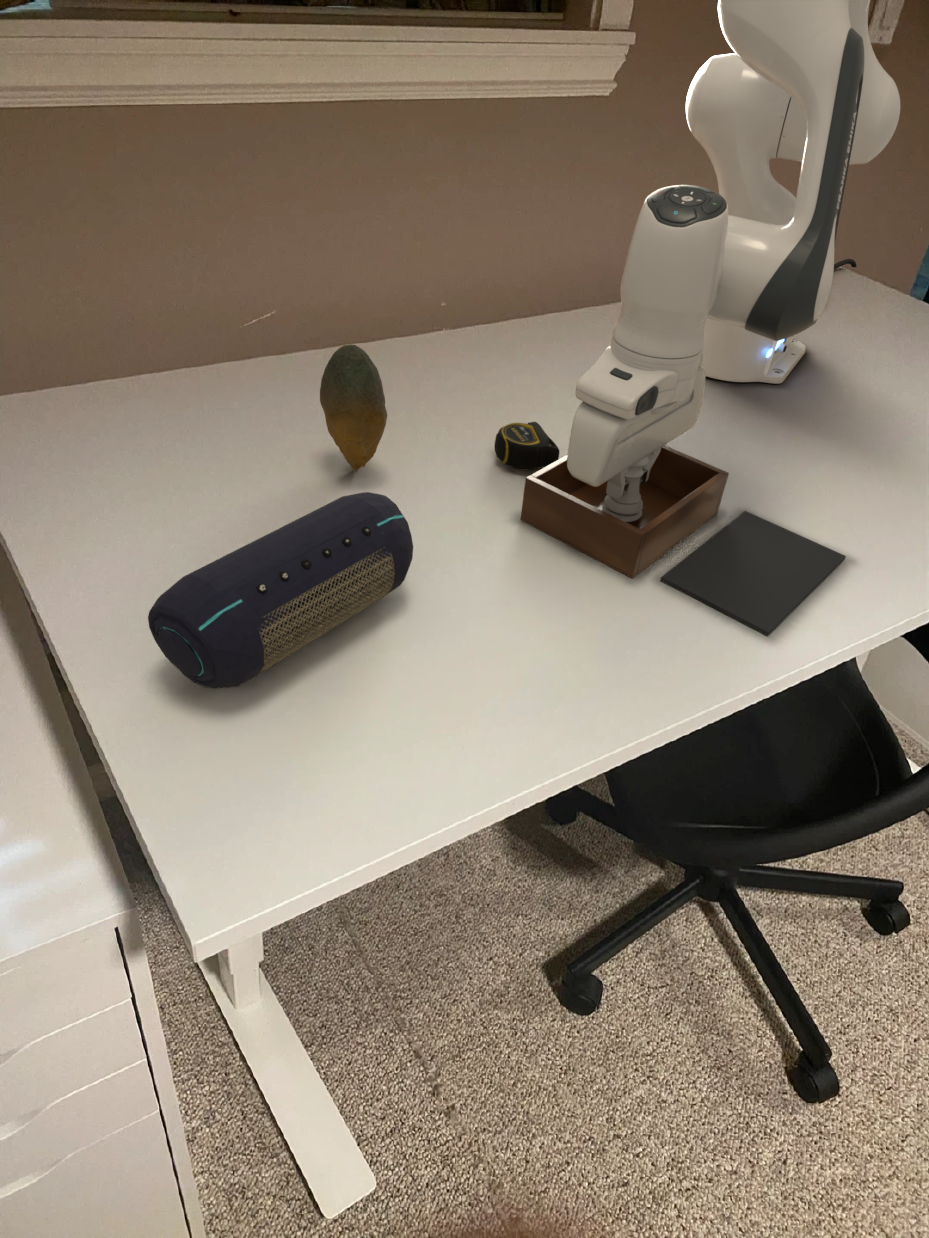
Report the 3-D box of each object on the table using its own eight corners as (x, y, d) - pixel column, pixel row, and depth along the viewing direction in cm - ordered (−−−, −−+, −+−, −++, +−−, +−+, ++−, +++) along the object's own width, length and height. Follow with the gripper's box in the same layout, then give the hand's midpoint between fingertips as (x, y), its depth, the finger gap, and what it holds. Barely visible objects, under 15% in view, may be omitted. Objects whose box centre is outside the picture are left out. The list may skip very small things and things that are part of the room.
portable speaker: (219, 729, 73) (205, 634, 66) (145, 669, 77) (125, 575, 71) (430, 593, 88) (435, 505, 82) (357, 550, 93) (356, 464, 87)
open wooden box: (610, 464, 110) (618, 424, 107) (717, 513, 103) (729, 472, 100) (520, 519, 99) (525, 477, 96) (632, 578, 92) (642, 535, 89)
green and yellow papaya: (399, 482, 104) (402, 356, 94) (353, 497, 101) (351, 368, 91) (353, 445, 109) (352, 324, 100) (309, 458, 106) (303, 334, 97)
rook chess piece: (593, 513, 101) (605, 448, 96) (616, 498, 103) (629, 435, 98) (626, 530, 99) (640, 465, 93) (649, 515, 101) (664, 451, 96)
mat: (744, 514, 103) (745, 510, 103) (844, 559, 98) (846, 555, 97) (660, 580, 92) (661, 576, 92) (767, 636, 87) (769, 632, 86)
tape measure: (559, 473, 108) (563, 444, 105) (504, 479, 106) (507, 450, 103) (537, 445, 113) (541, 417, 110) (485, 450, 111) (488, 422, 108)
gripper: (678, 331, 98) (653, 446, 107) (565, 387, 85) (547, 511, 94) (730, 350, 95) (700, 466, 104) (621, 410, 82) (597, 536, 91)
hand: (626, 488), depth 99 cm, fingers closed on rook chess piece, 3 cm apart
